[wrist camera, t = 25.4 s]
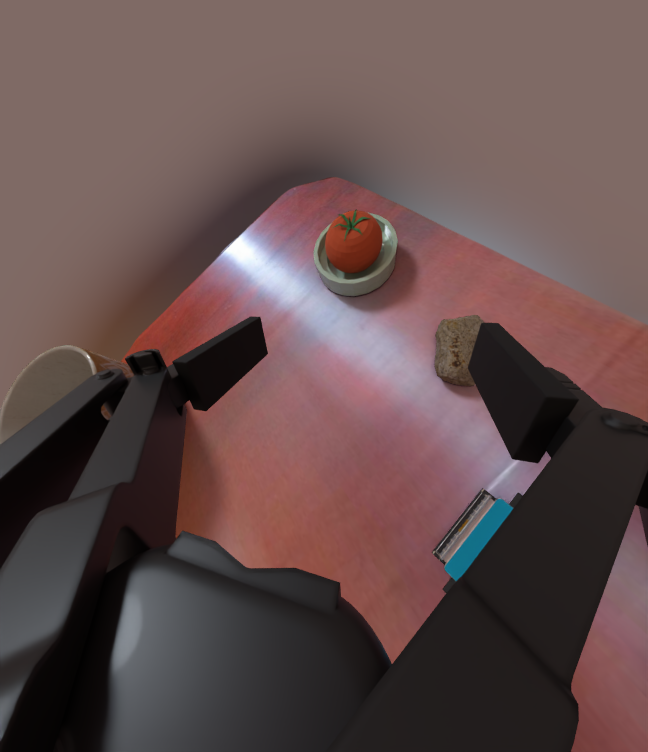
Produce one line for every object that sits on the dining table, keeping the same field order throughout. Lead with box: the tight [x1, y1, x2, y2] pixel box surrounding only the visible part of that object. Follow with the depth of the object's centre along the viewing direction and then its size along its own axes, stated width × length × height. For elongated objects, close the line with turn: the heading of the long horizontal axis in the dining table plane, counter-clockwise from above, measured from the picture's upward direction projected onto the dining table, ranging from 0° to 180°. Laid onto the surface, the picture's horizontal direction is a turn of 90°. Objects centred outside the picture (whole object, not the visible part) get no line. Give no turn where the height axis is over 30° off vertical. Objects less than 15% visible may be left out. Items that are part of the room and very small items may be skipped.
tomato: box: [325, 210, 383, 273], centre depth 41 cm, size 10×10×10 cm
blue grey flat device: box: [432, 488, 523, 593], centre depth 30 cm, size 20×12×2 cm, turn 139°
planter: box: [0, 345, 134, 444], centre depth 41 cm, size 19×19×16 cm
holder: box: [314, 213, 398, 296], centre depth 44 cm, size 15×15×4 cm
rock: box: [435, 315, 484, 386], centre depth 36 cm, size 8×11×4 cm
